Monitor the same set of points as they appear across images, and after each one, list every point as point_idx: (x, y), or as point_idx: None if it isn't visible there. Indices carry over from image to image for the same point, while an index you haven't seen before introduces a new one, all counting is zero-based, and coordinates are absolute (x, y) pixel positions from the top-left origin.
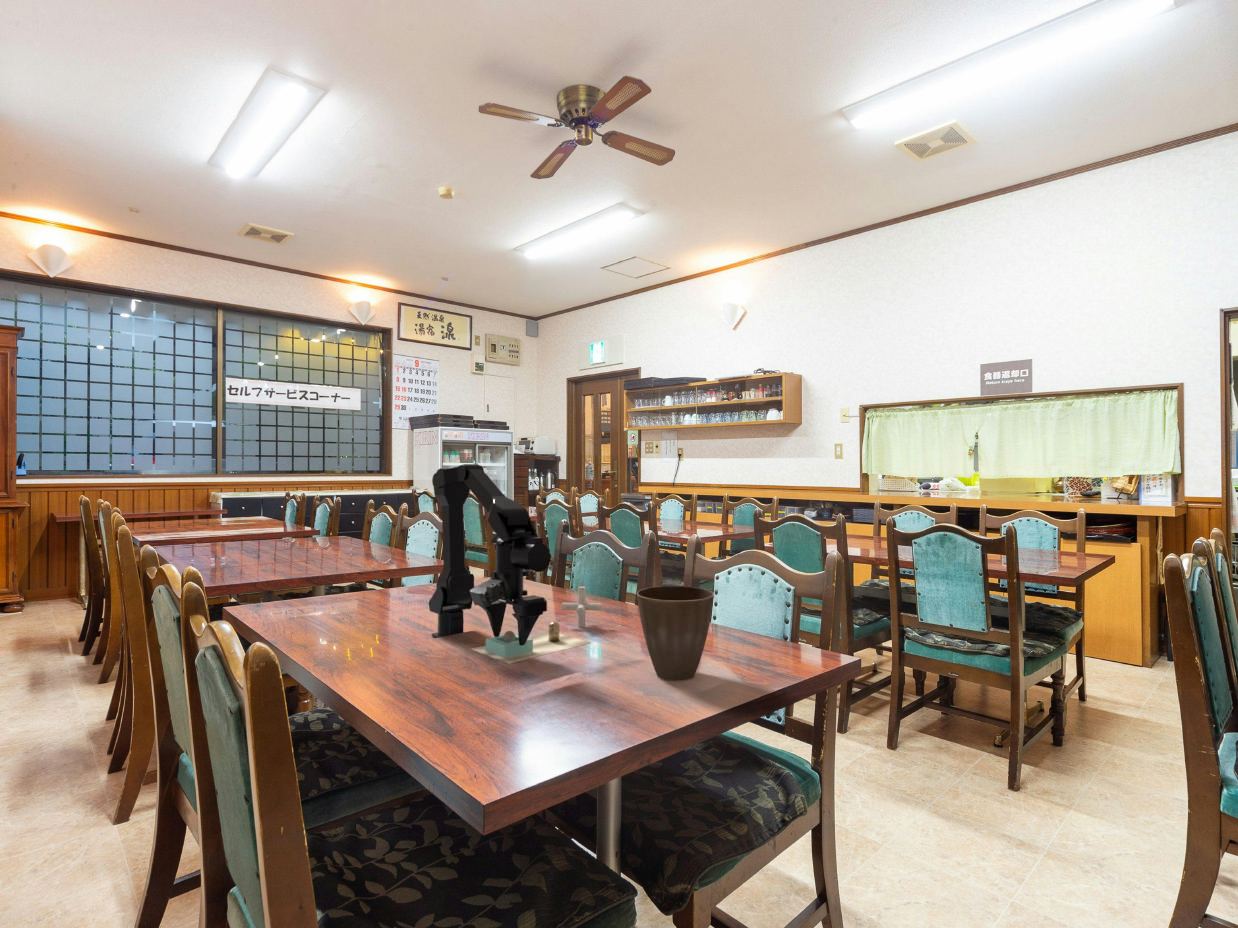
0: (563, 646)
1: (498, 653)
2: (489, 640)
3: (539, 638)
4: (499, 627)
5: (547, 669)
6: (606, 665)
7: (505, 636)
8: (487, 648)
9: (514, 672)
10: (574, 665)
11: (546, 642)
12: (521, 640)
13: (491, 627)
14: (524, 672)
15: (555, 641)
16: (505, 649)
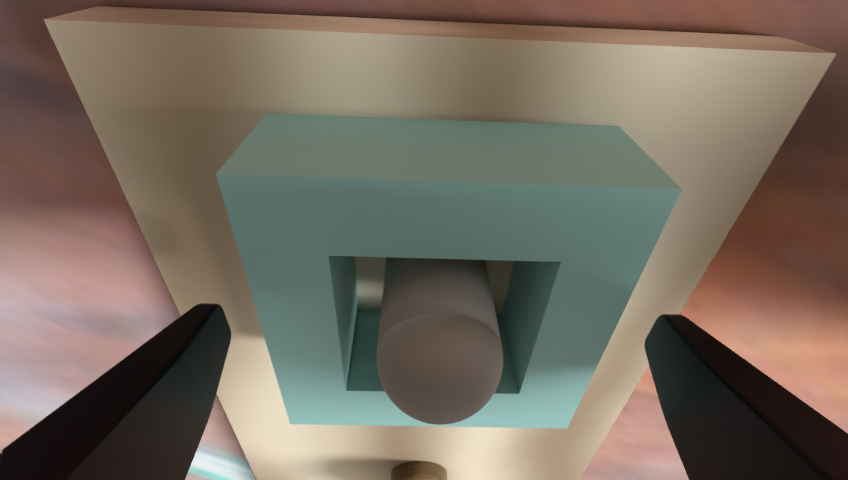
0: (294, 456)
1: (383, 127)
2: (589, 183)
3: (510, 461)
4: (687, 428)
5: (41, 245)
6: (21, 427)
7: (428, 327)
8: (595, 136)
9: (37, 24)
10: (73, 363)
11: (420, 449)
12: (150, 344)
13: (779, 386)
14: (10, 91)
15: (393, 472)
16: (235, 157)
